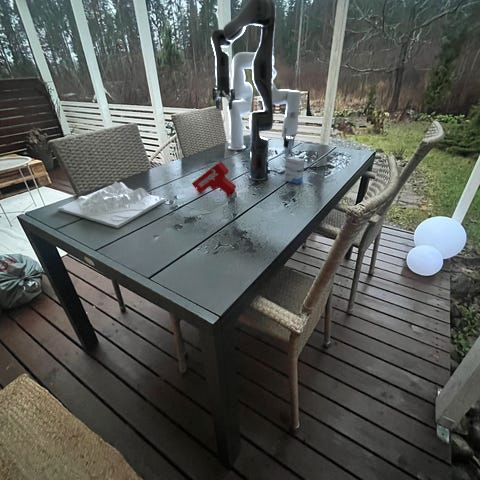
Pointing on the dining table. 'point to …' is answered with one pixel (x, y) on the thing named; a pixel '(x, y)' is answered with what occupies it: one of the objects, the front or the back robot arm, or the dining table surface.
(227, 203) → the dining table surface
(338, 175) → the dining table surface
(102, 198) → the relief map
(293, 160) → the ink box
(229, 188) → the toy gun
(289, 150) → the metal cylinder
